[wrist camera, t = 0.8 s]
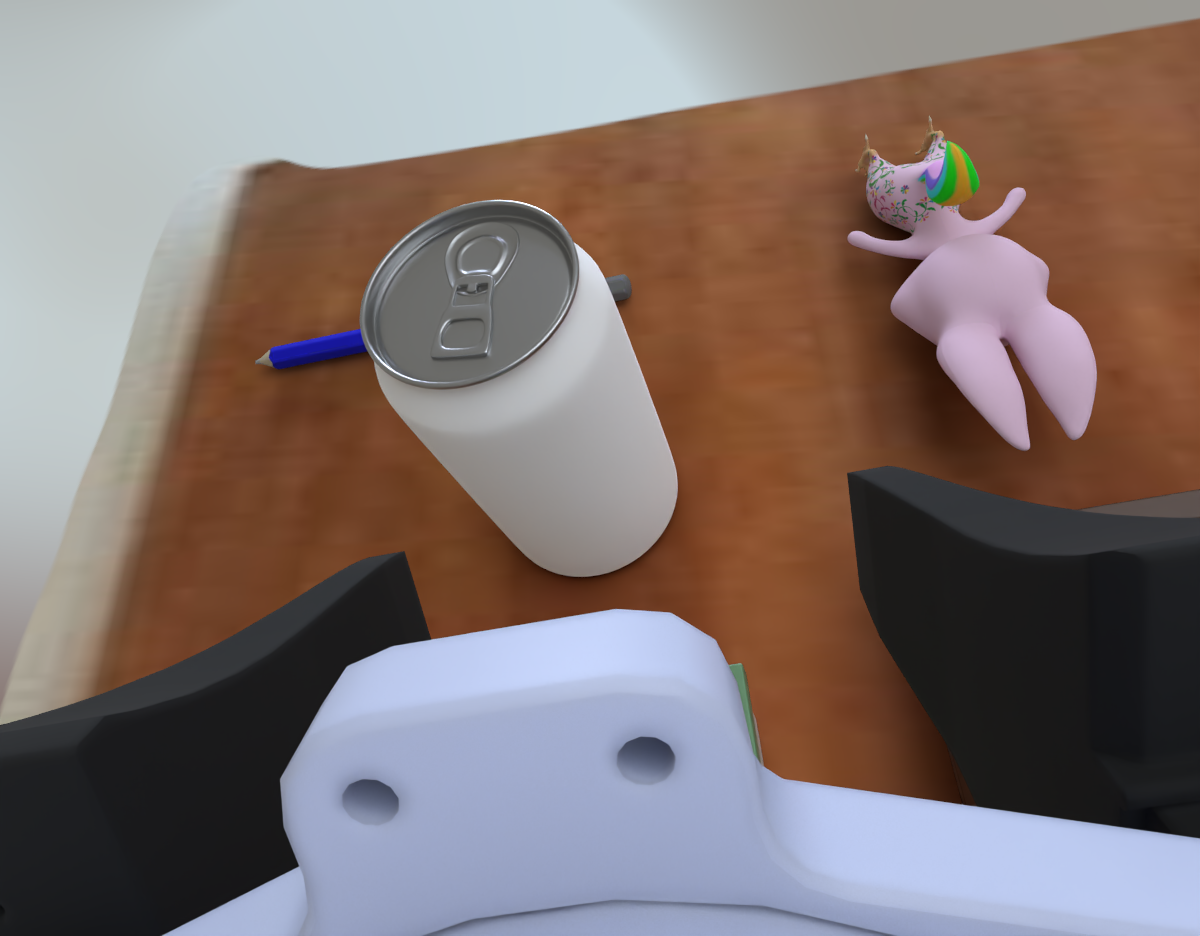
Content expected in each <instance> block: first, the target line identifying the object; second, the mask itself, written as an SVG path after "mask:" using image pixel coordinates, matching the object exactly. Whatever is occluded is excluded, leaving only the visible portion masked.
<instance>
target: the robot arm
mask: <svg viewBox="0 0 1200 936" xmlns="http://www.w3.org/2000/svg"><path fill="white" fill-rule="evenodd" d="M847 476H848V485H849V494H850V503H851V512H852V521H853V530H854V539H855V548H856V557H857V567H858V576H859V585H860V590H861V593H862V595H863V598H864V600H865V603H866V605H867V608H868V610H869V612H870V615H871V617H872V620H873V622H874V624H875V626H876V629H877V631H878V633H879V636H880V638H881V639H882V641H883V643H884V644H885V646H886V648H887V649H888V651H889V653H890V654H891V656H892V657H893V659H894V661H895V662H896V664H897V666H898V667H899V669H900V670H901V672H902V674H903V675H904V677H905V678H906V680H907V682H908V683H909V685H910V686H911V688H912V690H913V691H914V693H915V694H916V696H917V698H918V699H919V701H920V702H921V704H922V706H923V707H924V709H925V710H926V712H927V714H928V715H929V717H930V718H931V720H932V722H933V723H934V725H935V726H936V728H937V730H938V731H939V733H940V734H941V736H942V738H943V739H944V741H945V743H946V745H947V746H948V748H949V750H950V752H951V754H952V755H953V757H954V759H955V761H956V763H957V765H958V767H959V769H960V771H961V773H962V775H963V778H964V780H965V782H966V784H967V786H968V788H969V790H970V792H971V795H972V797H973V799H974V801H975V803H976V805H977V807H975V806H968V805H961V804H954V803H947V802H940V801H933V800H926V799H919V798H912V797H905V796H898V795H891V794H884V793H877V792H870V791H863V790H856V789H849V788H842V787H835V786H828V785H821V784H814V783H807V782H800V781H793V780H786V779H783V778H780V777H779V776H777V775H776V774H774V773H773V772H771V771H770V770H768V769H767V768H765V767H764V766H762V765H761V764H760V762H759V761H758V759H757V758H756V756H755V755H754V753H753V749H752V745H751V740H750V736H749V732H748V727H747V723H746V719H745V714H744V710H743V706H742V701H741V697H740V693H739V688H738V684H737V681H736V679H735V677H734V675H733V673H732V671H731V669H730V667H729V665H728V663H727V661H726V660H725V658H724V656H723V654H722V652H721V650H720V648H719V646H718V644H717V642H716V640H715V639H713V638H711V637H710V636H708V635H706V634H705V633H703V632H702V631H700V630H698V629H697V628H695V627H693V626H692V625H690V624H689V623H687V622H685V621H684V620H682V619H680V618H679V617H677V616H675V615H674V614H672V613H668V612H653V611H638V610H623V609H613V610H607V611H601V612H595V613H589V614H583V615H577V616H571V617H565V618H559V619H553V620H547V621H541V622H535V623H529V624H523V625H517V626H511V627H505V628H499V629H493V630H487V631H481V632H475V633H469V634H463V635H457V636H451V637H445V638H439V639H433V640H431V637H430V634H429V631H428V627H427V624H426V621H425V618H424V614H423V611H422V608H421V604H420V601H419V598H418V594H417V591H416V588H415V585H414V581H413V578H412V575H411V571H410V568H409V565H408V561H407V558H406V555H405V552H404V551H403V552H398V553H392V554H386V555H381V556H375V557H369V558H366V559H364V560H361V561H358V562H356V563H354V564H352V565H350V566H348V567H347V568H345V569H343V570H341V571H339V572H338V573H336V574H334V575H333V576H331V577H329V578H328V579H326V580H324V581H323V582H321V583H320V584H318V585H316V586H315V587H313V588H312V589H310V590H308V591H307V592H305V593H304V594H302V595H300V596H299V597H297V598H296V599H294V600H292V601H291V602H289V603H288V604H286V605H284V606H283V607H281V608H279V609H278V610H276V611H274V612H273V613H271V614H269V615H268V616H266V617H264V618H262V619H261V620H259V621H257V622H256V623H254V624H252V625H250V626H249V627H247V628H245V629H244V630H242V631H240V632H238V633H237V634H235V635H233V636H231V637H230V638H228V639H226V640H224V641H222V642H220V643H218V644H216V645H214V646H212V647H210V648H208V649H207V650H204V651H202V652H200V653H198V654H196V655H194V656H192V657H190V658H188V659H186V660H183V661H181V662H179V663H177V664H175V665H173V666H170V667H168V668H166V669H164V670H161V671H159V672H156V673H154V674H151V675H149V676H146V677H144V678H141V679H139V680H136V681H133V682H131V683H128V684H126V685H123V686H121V687H118V688H116V689H113V690H111V691H108V692H106V693H103V694H100V695H97V696H95V697H92V698H89V699H86V700H83V701H80V702H77V703H74V704H71V705H68V706H65V707H61V708H58V709H55V710H52V711H48V712H45V713H42V714H39V715H35V716H32V717H29V718H25V719H21V720H18V721H14V722H11V723H7V724H3V725H0V936H1200V518H1173V517H1148V516H1131V515H1114V514H1104V513H1094V512H1086V511H1079V510H1072V509H1065V508H1058V507H1051V506H1045V505H1040V504H1034V503H1029V502H1025V501H1020V500H1016V499H1012V498H1007V497H1003V496H999V495H994V494H991V493H987V492H983V491H979V490H976V489H972V488H969V487H965V486H962V485H958V484H955V483H952V482H948V481H945V480H942V479H938V478H935V477H932V476H928V475H925V474H922V473H918V472H915V471H911V470H907V469H903V468H899V467H893V466H885V467H879V468H873V469H868V470H862V471H856V472H851V473H847Z"/></svg>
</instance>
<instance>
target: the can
mask: <svg viewBox="0 0 1200 936" xmlns="http://www.w3.org/2000/svg"><path fill="white" fill-rule="evenodd" d="M360 329H361V334H362V338H363V342H364V344H365V347H366V349H367V351H368V353H369V354H370V356H371V358H372V359H373V360H374V364H375V370H376V374H377V378H378V381H379V384H380V386H381V389H382V391H383V393H384V395H385V396H386V398H387V399H388V401H389V403H390V404H391V406H392V407H393V408H394V410H395V411H396V412H397V413H398V415H399V416H400V417H401V418H402V419H403V421H404V422H405V423H406V424H407V425H408V426H409V428H410V429H411V430H412V431H413V432H414V433H415V434H416V436H417V437H418V438H419V439H420V440H421V441H422V442H423V444H424V445H425V446H426V447H427V448H428V449H429V450H430V451H431V453H432V454H433V455H434V456H435V457H436V458H437V459H438V460H439V462H440V463H441V464H442V465H443V466H444V467H445V468H446V469H447V470H448V472H449V473H450V474H451V475H452V476H453V477H454V478H455V479H456V480H457V482H458V483H459V484H460V485H461V486H462V487H463V488H464V489H465V491H466V492H467V493H468V494H469V495H470V496H471V497H472V498H473V499H474V501H475V502H476V503H477V504H478V505H479V506H480V507H481V508H482V509H483V510H484V512H485V513H486V514H487V515H488V516H489V517H490V518H491V519H492V520H493V522H494V523H495V524H496V525H497V526H498V527H499V528H500V529H501V530H502V531H503V533H504V534H505V535H506V536H507V537H508V538H509V539H510V540H511V541H512V542H513V543H514V544H515V545H516V547H517V548H518V549H519V550H520V551H521V552H522V553H523V554H524V555H525V556H527V557H528V558H529V559H530V560H531V561H533V562H534V563H536V564H537V565H539V566H540V567H542V568H544V569H546V570H549V571H551V572H554V573H557V574H561V575H566V576H574V577H588V576H596V575H601V574H605V573H609V572H612V571H615V570H617V569H620V568H622V567H624V566H626V565H628V564H630V563H631V562H633V561H634V560H636V559H637V558H639V557H640V556H641V555H643V554H644V553H645V552H646V551H647V550H648V549H650V548H651V547H652V546H653V544H654V543H655V542H656V541H657V540H658V539H659V537H660V536H661V535H662V533H663V532H664V530H665V528H666V527H667V525H668V523H669V521H670V519H671V516H672V514H673V511H674V508H675V504H676V499H677V491H678V481H677V473H676V468H675V464H674V461H673V458H672V454H671V452H670V449H669V446H668V443H667V440H666V437H665V435H664V432H663V429H662V426H661V424H660V421H659V418H658V416H657V413H656V410H655V407H654V405H653V402H652V399H651V397H650V394H649V391H648V388H647V386H646V383H645V380H644V378H643V375H642V372H641V370H640V367H639V364H638V362H637V359H636V356H635V354H634V351H633V348H632V346H631V343H630V340H629V338H628V335H627V332H626V330H625V327H624V324H623V322H622V319H621V317H620V314H619V311H618V309H617V306H616V304H615V301H614V299H613V296H612V294H611V291H610V289H609V287H608V284H607V282H606V280H605V278H604V276H603V274H602V273H601V271H600V269H599V267H598V266H597V264H596V263H595V262H594V260H593V259H592V258H591V257H590V256H589V255H588V254H587V253H586V252H585V251H584V250H583V249H582V248H580V247H579V246H578V245H577V244H575V243H574V242H573V240H572V238H571V236H570V235H569V233H568V231H567V230H566V229H565V228H564V226H563V225H562V224H561V223H560V222H559V221H558V220H557V219H556V218H554V217H553V216H552V215H550V214H549V213H547V212H545V211H544V210H542V209H540V208H537V207H535V206H532V205H529V204H526V203H522V202H516V201H509V200H488V201H480V202H474V203H469V204H465V205H462V206H458V207H455V208H452V209H450V210H447V211H445V212H442V213H440V214H438V215H436V216H434V217H432V218H430V219H429V220H427V221H425V222H423V223H422V224H420V225H419V226H417V227H416V228H414V229H413V230H412V231H410V232H409V233H408V234H406V235H405V236H404V237H403V238H402V239H401V240H400V241H398V242H397V243H396V244H395V245H394V246H393V247H392V248H391V250H390V251H389V252H388V253H387V254H386V255H385V257H384V258H383V259H382V260H381V262H380V263H379V265H378V266H377V268H376V269H375V271H374V273H373V274H372V276H371V278H370V280H369V282H368V285H367V287H366V290H365V292H364V296H363V299H362V304H361V310H360Z"/></svg>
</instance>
